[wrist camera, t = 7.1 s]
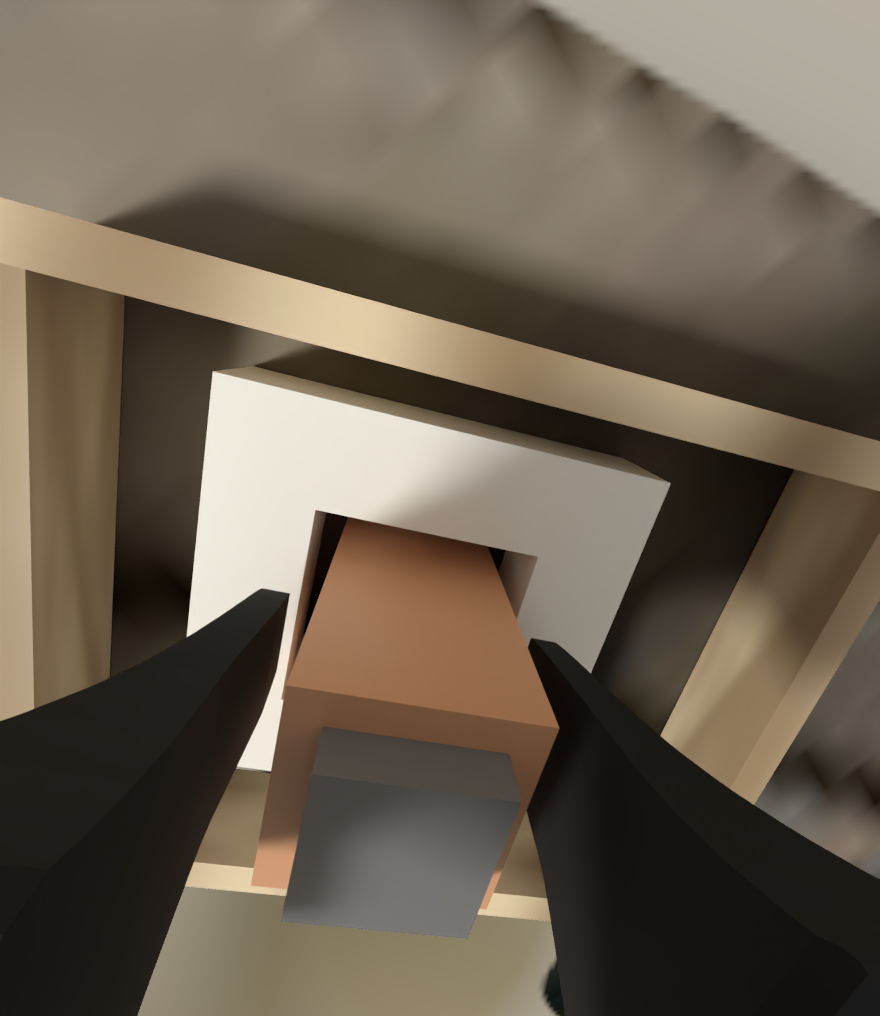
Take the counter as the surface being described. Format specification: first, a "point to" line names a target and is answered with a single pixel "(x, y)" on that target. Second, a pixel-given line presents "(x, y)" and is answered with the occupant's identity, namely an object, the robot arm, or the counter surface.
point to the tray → (394, 503)
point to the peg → (403, 740)
